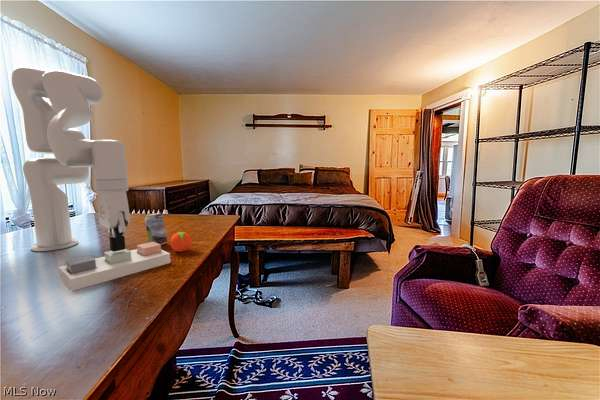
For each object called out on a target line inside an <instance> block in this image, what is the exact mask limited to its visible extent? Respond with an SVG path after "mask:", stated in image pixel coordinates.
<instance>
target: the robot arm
mask: <svg viewBox="0 0 600 400" xmlns="http://www.w3.org/2000/svg"><path fill="white" fill-rule="evenodd" d="M11 84H12V89H13V92H14V94H15V97H16V98H17V100H18V102H19V104H20V106H21V108H22V109H21V110H22V117H23V122H24V123H23V125H24V133H25V141H26V145H27V147H28V149H29V150H30V151H31V152H33V153H38V154H46V155H47V154H48V155H51V154H53V155H54V157H35V158H34V157H33V158H30V159H28V160H26V161H25V162H24V163H23V166H22V171H23V172H22V173H23V175H24V179H25V181H26V184H27V186H28V187H27V188H28V191H29V196H30V203H31V210H32V219H33V224H34V231H35V232H34V233H35V240H36V243H33V244H32V245H31V246H30V250H31V251H34V252H50V251H51V252H52V251H57V250H58V251H59V250H64V249H66V248H71V247H74V246H76V245H77V244H78V243H79V241H78V239H77V238H73V236H72V235H73V234H72V228H71V225H72V224H71V218H70V217H71V216H70V208H69V207H70V206H69V200H68V196H67V194H66V193H65V191H63V190H62V189H61V188H59V186H61V185H76V184H84V183H86V181H87V180H88V179H89V176H90V175H89V174H90V170H89V169H90V168H93V170H92V171H93V176H94V177H93V178H94V187H95V192H96V193H97V212H98V213H97V214H98V215H97V216H98V224H99V225H100V226H102V227H103V228H107V231H108V235H109V249H110V250H109V251H113V252H115V251H120V250H124V249H126V239H125V233H126V232H127V231H126V230H127V229H126V227H128V226H129V225H130V223H131V216H130V209H129V207H130V206H129V200H128V196H127V195H128V194H127V192H128V191H129V189H130V188H129V181H128V180H129V179H128V168H127V154H126V146H125V144H124V143H123V142H122V141H120V140H115V139H95V140H93V139H92V140H91V139H86V136H85V135H84V133H83V132H82V131H81V130H80V129H77V128H78V127H81V126H84V125H86V124H88V123H90V121H91V120H92V119H93V118H94V117H93V116H94V112H93V110H92V108H91V106H98V105H100V104H101V102H102V100H103V96H104V94H103V88H102V87H101V85H100V84H99V82H98V81H97V80H96V79H94V78H92V77H89V76H85V75H81V74H77V73H73V72H69V71H66V70H59V69H51V70H47V69H43V68H39V67H32V66H31V67H30V66H18V67H15V68H14V69H13V70H12V72H11ZM48 99H49V100H48Z"/></svg>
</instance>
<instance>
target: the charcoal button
mask: <svg viewBox="0 0 600 400" xmlns="http://www.w3.org/2000/svg"><path fill="white" fill-rule="evenodd" d="M65 265H66V267H67V272H68V273H69V274H70V275H72V274H76V273H80V272H84V271H88V270H92V269H96V263H95V258H94V257H92V256H91V255H85V256H80V257H76V258H72V259H67V260H65Z"/></svg>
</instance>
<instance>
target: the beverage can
mask: <svg viewBox="0 0 600 400" xmlns="http://www.w3.org/2000/svg"><path fill="white" fill-rule="evenodd" d="M144 223H145V228H146V233H147V239H148V240H147V241H148V243H149V242H156V243H158V244H160V245H161V246H162V245H164V244H166V242H168V237H167V232H166V231H167V230H166V225H165V219H164V215H162V214H161V212H157V213H151V214H146V215H145V218H144Z"/></svg>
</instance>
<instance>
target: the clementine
mask: <svg viewBox="0 0 600 400" xmlns="http://www.w3.org/2000/svg"><path fill="white" fill-rule="evenodd" d="M192 244H193V239H192V236H191V235H190V234H189V233H188V232H186V231H179V232H175V233H174V234H173V235H172V236H171V238H170V247H171V248H172V250H174V251H176V252H178V253H182V252H183V253H184V252H187V251H188V250H189V249H190V248H191V247H192Z"/></svg>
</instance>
